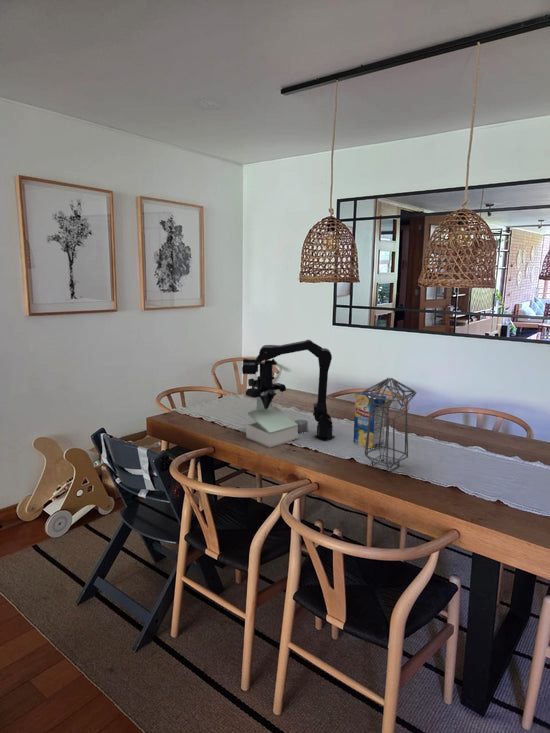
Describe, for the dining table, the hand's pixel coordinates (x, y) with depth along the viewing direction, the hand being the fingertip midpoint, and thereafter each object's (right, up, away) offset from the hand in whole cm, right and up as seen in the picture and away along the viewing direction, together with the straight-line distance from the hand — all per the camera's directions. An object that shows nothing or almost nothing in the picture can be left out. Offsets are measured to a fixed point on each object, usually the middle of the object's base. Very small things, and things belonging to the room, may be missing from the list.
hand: (266, 408), depth 213 cm
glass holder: (+1, -5, +37) cm, 38 cm away
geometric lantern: (+46, -20, -30) cm, 58 cm away
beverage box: (+44, -15, -7) cm, 47 cm away
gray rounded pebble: (+16, -11, +10) cm, 22 cm away
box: (+3, -13, 0) cm, 13 cm away
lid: (+3, -5, -2) cm, 6 cm away
